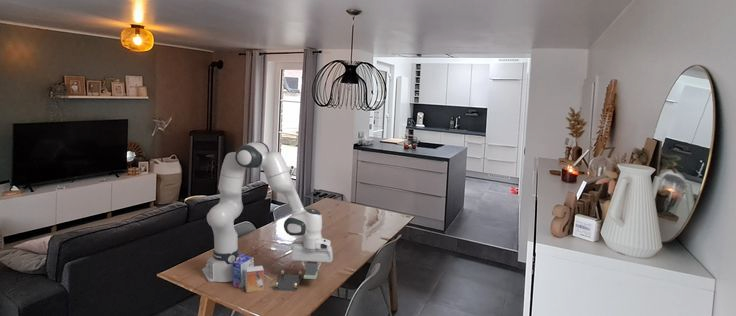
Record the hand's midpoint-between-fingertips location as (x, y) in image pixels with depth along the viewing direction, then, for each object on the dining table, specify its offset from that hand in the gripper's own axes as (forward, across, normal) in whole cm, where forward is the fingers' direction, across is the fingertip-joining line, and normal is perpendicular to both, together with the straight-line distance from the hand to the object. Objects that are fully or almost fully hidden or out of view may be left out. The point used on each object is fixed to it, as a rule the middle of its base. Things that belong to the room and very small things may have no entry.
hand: (311, 269), depth 203 cm
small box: (+9, -26, -7) cm, 28 cm away
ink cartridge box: (+9, -33, -2) cm, 34 cm away
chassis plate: (+8, -11, 0) cm, 14 cm away
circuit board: (+2, 0, 0) cm, 3 cm away
